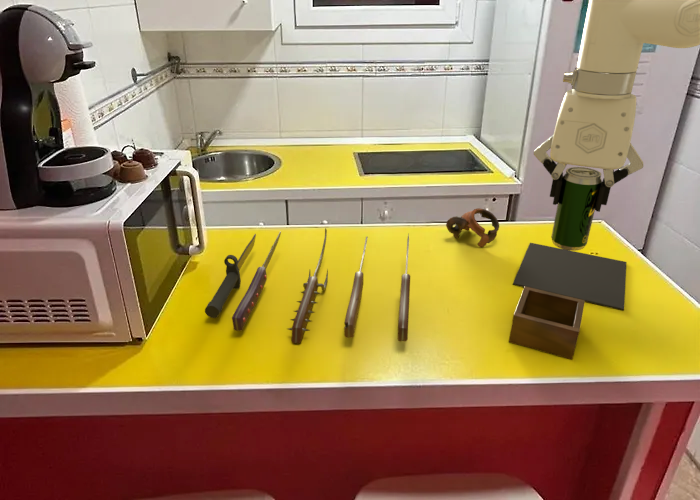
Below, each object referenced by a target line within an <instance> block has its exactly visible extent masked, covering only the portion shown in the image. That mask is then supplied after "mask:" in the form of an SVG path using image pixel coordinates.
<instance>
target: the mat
mask: <svg viewBox="0 0 700 500" xmlns="http://www.w3.org/2000/svg"><path fill="white" fill-rule="evenodd" d="M626 277H627V261H623V260H618V259H614V258H609V257H604V256H599V255H594V254H589V253H583V252H579V251H571V250H565V249H561V248H559V247H556V246H555V247H554V246H550V245H546V244H545V245H544V244H540V243H535V242H529V244H528V247H527V249H526V251H525V253H524V256H523V258H522V260H521V263H520V265H519V267H518V270H517V273H516V275H515V277H514V279H513V282H512V286H517V287H521V288H524V286H526V287H530V288H534V289H539V290H543V291H547V292H551V293H556V294H560V295H564V296H569V297H573V298H577V299H581V300H585V303H589V304H592V305H593V304H594V305H598V306H601V307H606V308H611V309H613V310H614V309H615V310H619V311H622V312H623V311H625V298H626V283H627V281H626V280H627V278H626Z"/></svg>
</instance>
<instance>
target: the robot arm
mask: <svg viewBox="0 0 700 500" xmlns="http://www.w3.org/2000/svg"><path fill="white" fill-rule="evenodd" d="M585 15H586V16H585V21H584V27H583V31H582V37H581V42H580V47H579V52H578V58H577V63H576V68H575V69H573V71H568V72H567V71H565V72H564V74H563V78H562V82H563V83H568V84H570V86H572V87H571V88H572V89H569V90H567V91H566V92H565V94H564V97H563V99H562V101H561V104H560V108H559V110H558V115H557V119H556V123H555V126H554V131H553V134H552V135H551V136H549V138H547V139H546V140H545V141H544V142H542V143H541V144H540V145H539V146H537V147H536V148H535V149H534V151H533V155H534V157H535V158H536V159H537V160H538V161H539V162H540V163H541V164H542V166H543V167H544V168H545V171H547V172H548V173H549V175H550V177H551V179H552V181H551V187H550V192H549V198H553V199H552V205H554V206H556V205H558V202H559V197H560V192H561V186H562V181H563V176H564V170H565V169H566V167H567V165H569V166H575V167H585V168H591V169H601V170H602V171H603V172H602V173H603V179H602V182H601V185H600V190H599V194H598V198H597V202H596V207H595V212H597V213H598V212H601V208H602V206H607V204H608V200H609V196H610V192H611V188H612V187H614V186H615V184H617V183H619V182H620V181H622V180H623V179H625V178H627V177H628V176H630V175H632V174H634V173H636V172H638V171H640V170H642V169H643V168H644V161H643V159H642V158H641V156H640V155H639V153H638V152H637V150H636V149H635V147H634V145H633V144H632V142H631V141H632V136H633V131H634V127H635V120H636V112H637V96H636V95H635V94H633V92H632V91H633V87H634V84H635V80H636V76H637V75H636V74H637V71H638V68H639V62H640V58H641V56H642V55H641V54H642V50H643V47H644V44H648V45H649V44H650V45H655V46H662V47H667V48H673V49H691V48H694V47H697V46H700V0H588V4H587V11H586V14H585ZM548 151H550V152H549V153H550V154H548V153H547V152H548ZM627 159H628V161H629V163H627V164H626V161H627ZM625 164H626V165H625Z"/></svg>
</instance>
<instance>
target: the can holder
mask: <svg viewBox="0 0 700 500" xmlns="http://www.w3.org/2000/svg"><path fill="white" fill-rule="evenodd" d="M585 303H586V302H585V300H581V299H577V298H573V297H569V296H564V295H560V294H556V293H551V292H547V291H543V290H539V289H534V288H530V287H526V286H524V287H523V289H522V292H521V294H520V297H519V300H518V302H517V305H516V307H515V310H514V313H513V316H512V321H511V328H510V332H509V338H508V343H511V344H514V345H517V346H522V347H524V348H528V349H532V350H536V351H539V352H543V353H546V354H550V355H553V356H558V357H560V358H565V359H567V360H568V359H569V360H573V359H574V354H575V351H576V347H577V344H578V343H577V342H578V339H579V335H580V331H581V326H582V320H583V314H584V308H585Z"/></svg>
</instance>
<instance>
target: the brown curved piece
mask: <svg viewBox="0 0 700 500" xmlns="http://www.w3.org/2000/svg"><path fill="white" fill-rule="evenodd" d="M477 214H480V216H481V218H485V219H488V220H490V223H491V226H492V227H493V229H489V230H488V231H487V233H485V232H486V228H485V227H483V226H481V225H480V224H479V222H477V220H476V218H475V217H476V215H477ZM445 227H446V230H447V231H448V232H449V233H450V234H452V236H454V238H456V239H458V238H459V237H460V235H461V233H462V231H463V230H465V231H469V230H471V231H472V232H474V233H475V234H476V235H477V236H478V237H480V240H479V242H478V243H477V247H479V248H484V247H485V246H487V244H490V243H492V242H493V241H494V240H495V239H496V238H497V236H498V235H497V234H498V231H499V230H500V223H499V220H498V218H497V217H496V216H495V215H494V214H493V213H492V212H491V211H489V210H488V209H484V208H481V207H480V208H474V209H473V210H470V211H467V212H465V213H463V214H462V215H461V216H458V215H457V216H452V217H449V218H448V219H447V221H446V223H445Z"/></svg>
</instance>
